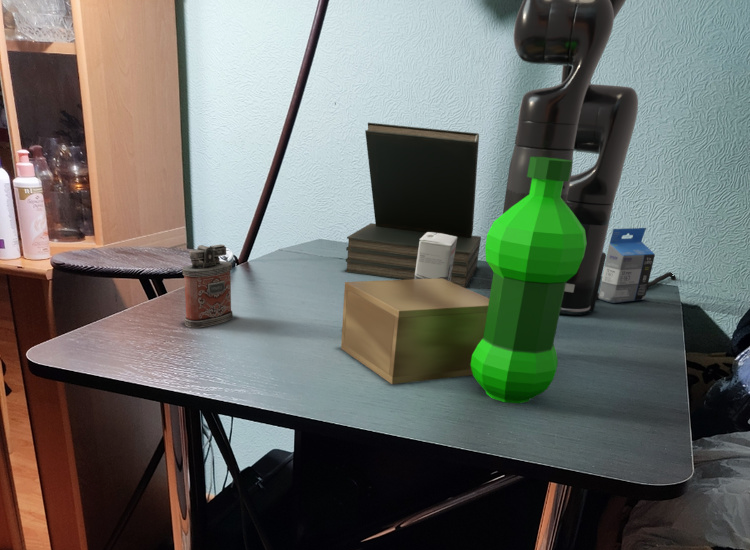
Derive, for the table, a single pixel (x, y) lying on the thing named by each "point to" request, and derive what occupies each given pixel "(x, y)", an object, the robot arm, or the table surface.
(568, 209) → the plastic bottle
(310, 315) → the table surface
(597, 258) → the robot arm
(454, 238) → the ink box
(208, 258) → the lighter
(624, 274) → the label tape box
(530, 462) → the table surface
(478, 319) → the tan rectangular box
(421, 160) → the stack of books
